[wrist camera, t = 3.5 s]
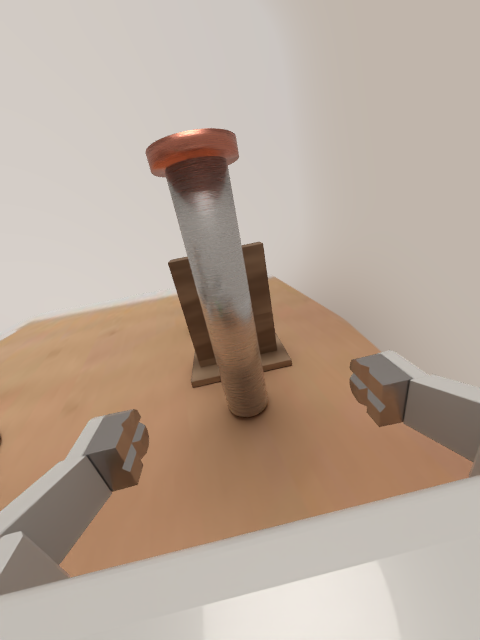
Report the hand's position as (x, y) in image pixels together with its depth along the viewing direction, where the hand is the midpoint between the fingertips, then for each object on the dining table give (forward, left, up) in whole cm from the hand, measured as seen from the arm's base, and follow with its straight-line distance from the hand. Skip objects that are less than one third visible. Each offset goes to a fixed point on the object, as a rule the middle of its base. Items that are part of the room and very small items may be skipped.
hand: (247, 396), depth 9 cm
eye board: (+13, +13, -11) cm, 22 cm away
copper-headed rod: (+11, +11, -10) cm, 19 cm away
